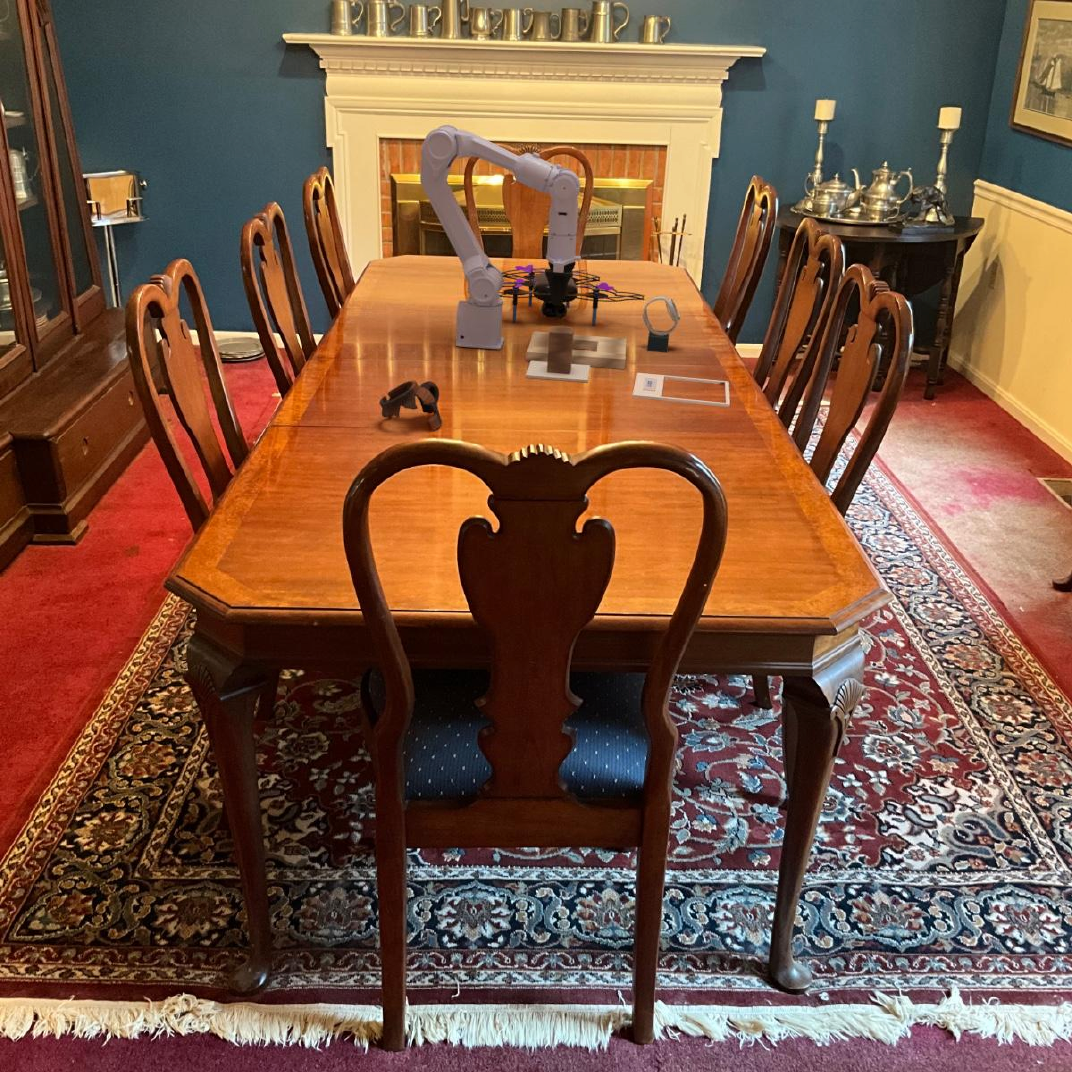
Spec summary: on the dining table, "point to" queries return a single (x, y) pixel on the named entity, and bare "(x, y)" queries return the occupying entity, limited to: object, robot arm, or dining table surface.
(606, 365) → the pocket board
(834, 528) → the dining table surface
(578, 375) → the felt pad
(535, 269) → the drone
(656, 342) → the watch
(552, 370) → the block
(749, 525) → the dining table surface
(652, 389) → the photo frame
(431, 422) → the brown curved piece
